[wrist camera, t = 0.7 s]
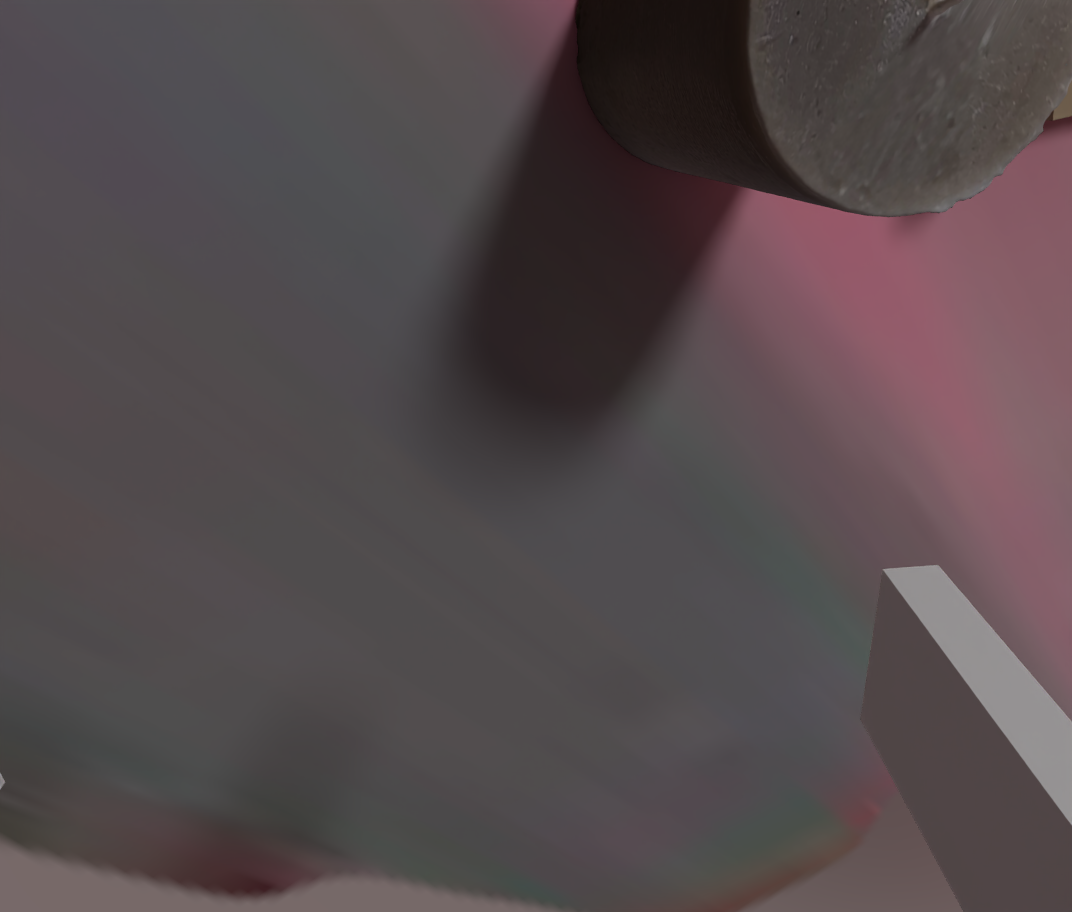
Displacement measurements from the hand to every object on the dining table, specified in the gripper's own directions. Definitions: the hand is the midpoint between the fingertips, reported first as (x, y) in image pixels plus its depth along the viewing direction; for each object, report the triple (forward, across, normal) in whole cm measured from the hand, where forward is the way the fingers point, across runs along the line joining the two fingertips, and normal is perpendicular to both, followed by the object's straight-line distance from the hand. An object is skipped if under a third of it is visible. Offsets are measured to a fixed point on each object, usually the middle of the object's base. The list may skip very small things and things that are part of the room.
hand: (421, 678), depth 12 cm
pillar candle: (+26, +9, +8) cm, 28 cm away
